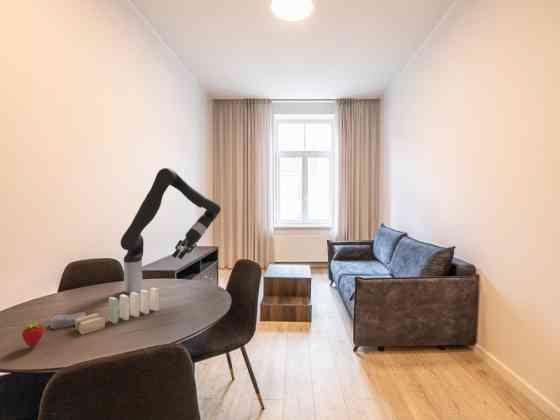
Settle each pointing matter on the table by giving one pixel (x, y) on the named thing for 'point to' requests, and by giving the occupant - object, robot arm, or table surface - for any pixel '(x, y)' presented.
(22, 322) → the table surface
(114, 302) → the domino
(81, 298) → the table surface
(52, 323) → the stone block
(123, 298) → the domino
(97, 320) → the stop block
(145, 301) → the domino
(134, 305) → the domino
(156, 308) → the domino
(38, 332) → the strawberry
